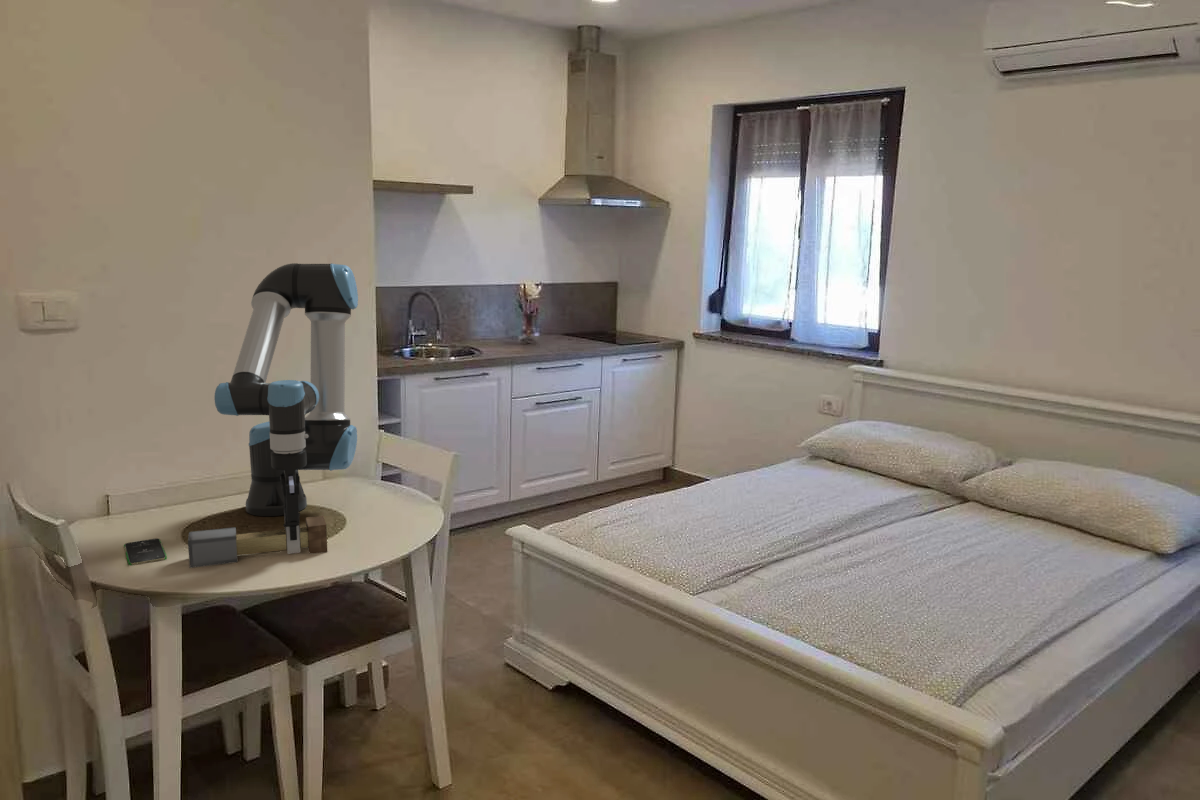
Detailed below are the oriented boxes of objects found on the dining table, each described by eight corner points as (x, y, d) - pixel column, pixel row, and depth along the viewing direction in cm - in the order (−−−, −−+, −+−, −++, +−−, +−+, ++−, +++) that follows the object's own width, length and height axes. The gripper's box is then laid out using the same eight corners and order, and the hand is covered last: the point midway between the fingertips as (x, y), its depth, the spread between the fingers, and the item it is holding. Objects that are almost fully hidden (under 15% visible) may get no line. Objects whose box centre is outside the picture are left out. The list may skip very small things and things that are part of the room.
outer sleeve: (189, 567, 186) (187, 541, 184) (191, 557, 191) (189, 532, 190) (237, 562, 189) (235, 536, 188) (237, 552, 195) (235, 527, 194)
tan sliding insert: (232, 556, 190) (230, 517, 188) (232, 550, 193) (230, 511, 192) (320, 546, 197) (318, 508, 195) (318, 540, 200) (316, 503, 199)
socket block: (309, 554, 195) (308, 526, 194) (307, 544, 201) (305, 517, 200) (327, 551, 196) (326, 524, 195) (324, 542, 203) (323, 515, 201)
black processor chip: (128, 563, 186) (123, 543, 198) (129, 567, 186) (123, 546, 198) (167, 557, 190) (159, 537, 202) (167, 561, 190) (159, 541, 202)
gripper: (309, 457, 186) (313, 559, 190) (303, 440, 202) (307, 535, 206) (272, 460, 183) (277, 564, 187) (269, 442, 199) (273, 539, 203)
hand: (293, 548), depth 197 cm, fingers closed on tan sliding insert, 4 cm apart
